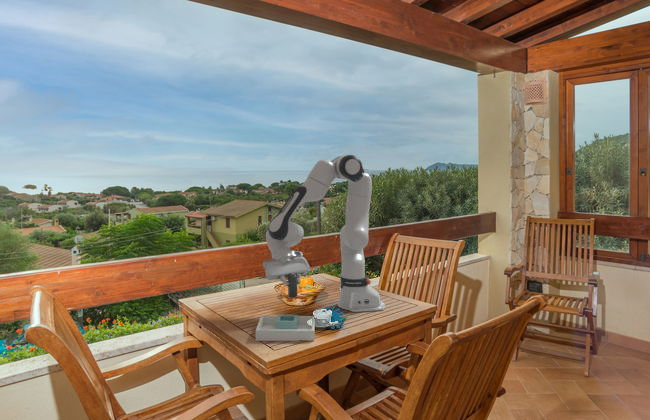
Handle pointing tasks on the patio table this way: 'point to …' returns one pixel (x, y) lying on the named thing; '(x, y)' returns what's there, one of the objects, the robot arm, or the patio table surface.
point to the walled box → (285, 328)
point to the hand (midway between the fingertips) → (293, 284)
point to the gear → (336, 316)
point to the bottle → (292, 285)
